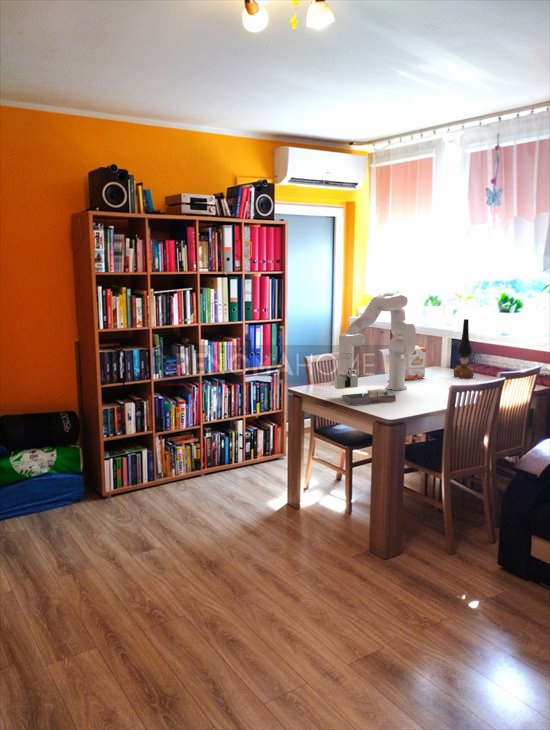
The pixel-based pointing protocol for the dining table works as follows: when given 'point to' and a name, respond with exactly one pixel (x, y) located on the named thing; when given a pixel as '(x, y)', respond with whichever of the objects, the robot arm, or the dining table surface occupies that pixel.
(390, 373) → the robot arm
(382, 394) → the chip
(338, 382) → the bar
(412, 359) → the cracker box
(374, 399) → the groove board
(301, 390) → the dining table surface
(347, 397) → the tray
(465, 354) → the oil lamp
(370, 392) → the chip
